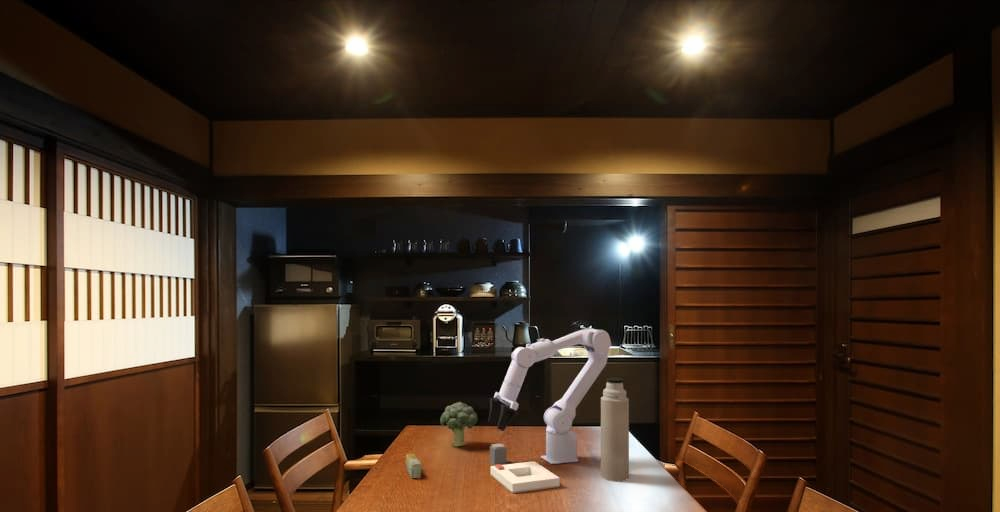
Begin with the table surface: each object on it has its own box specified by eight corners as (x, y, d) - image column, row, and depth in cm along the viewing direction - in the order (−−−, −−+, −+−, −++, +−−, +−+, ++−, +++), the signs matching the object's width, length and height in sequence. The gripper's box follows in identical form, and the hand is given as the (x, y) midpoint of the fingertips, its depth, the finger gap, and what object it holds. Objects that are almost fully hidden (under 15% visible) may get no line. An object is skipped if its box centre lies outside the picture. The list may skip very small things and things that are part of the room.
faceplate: (534, 469, 169) (534, 459, 169) (559, 486, 154) (559, 475, 154) (490, 474, 163) (490, 464, 164) (512, 493, 149) (512, 481, 149)
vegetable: (434, 444, 195) (435, 400, 195) (465, 439, 202) (466, 396, 203) (452, 453, 185) (453, 406, 186) (484, 446, 192) (485, 402, 193)
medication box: (421, 479, 160) (421, 464, 160) (411, 479, 159) (412, 465, 159) (413, 466, 171) (414, 452, 171) (404, 467, 170) (405, 453, 171)
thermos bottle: (603, 471, 168) (603, 375, 170) (630, 474, 165) (630, 377, 167) (598, 479, 160) (598, 379, 162) (627, 482, 158) (627, 381, 160)
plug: (501, 461, 177) (501, 443, 177) (506, 465, 173) (506, 446, 173) (489, 462, 175) (489, 444, 175) (494, 466, 171) (494, 447, 172)
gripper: (492, 375, 181) (476, 416, 179) (510, 384, 168) (493, 428, 166) (511, 382, 184) (495, 422, 182) (530, 392, 170) (513, 436, 168)
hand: (495, 426), depth 174 cm, fingers open, 7 cm apart
